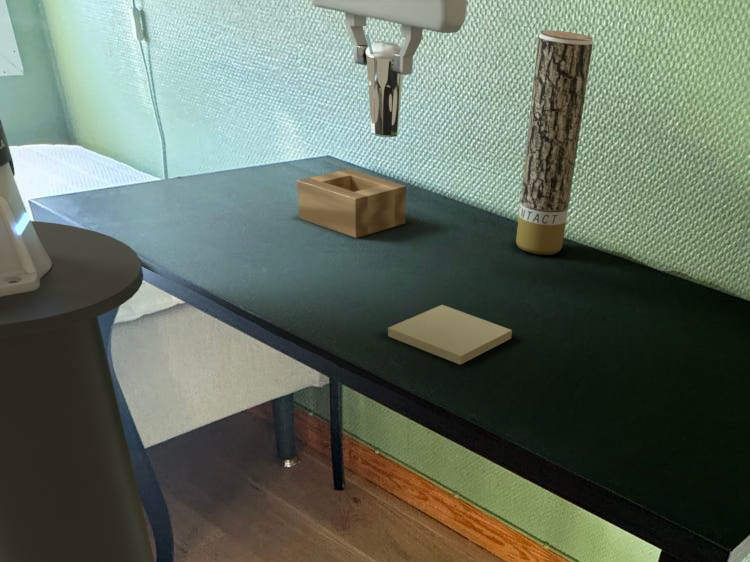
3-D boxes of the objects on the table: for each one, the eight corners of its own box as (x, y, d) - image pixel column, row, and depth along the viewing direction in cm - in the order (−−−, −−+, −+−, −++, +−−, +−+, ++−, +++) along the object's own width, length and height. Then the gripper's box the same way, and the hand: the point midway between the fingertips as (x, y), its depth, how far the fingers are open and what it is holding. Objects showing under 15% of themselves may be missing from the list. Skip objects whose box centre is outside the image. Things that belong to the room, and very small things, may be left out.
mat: (460, 365, 85) (460, 355, 84) (387, 336, 89) (387, 327, 88) (511, 338, 92) (512, 330, 91) (441, 312, 95) (442, 304, 94)
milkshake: (353, 132, 97) (352, 29, 90) (384, 128, 100) (385, 29, 94) (380, 140, 95) (381, 36, 88) (410, 136, 98) (413, 35, 92)
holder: (356, 238, 112) (355, 199, 109) (298, 218, 116) (296, 180, 113) (405, 223, 119) (406, 186, 116) (349, 205, 123) (349, 168, 120)
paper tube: (526, 237, 119) (551, 29, 102) (568, 248, 117) (601, 37, 100) (507, 249, 115) (530, 32, 98) (551, 260, 113) (582, 41, 96)
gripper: (290, -104, 86) (298, 54, 95) (444, -82, 78) (436, 87, 88) (330, -100, 90) (334, 51, 99) (480, -78, 82) (468, 83, 92)
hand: (383, 69), depth 93 cm, fingers closed on milkshake, 4 cm apart
